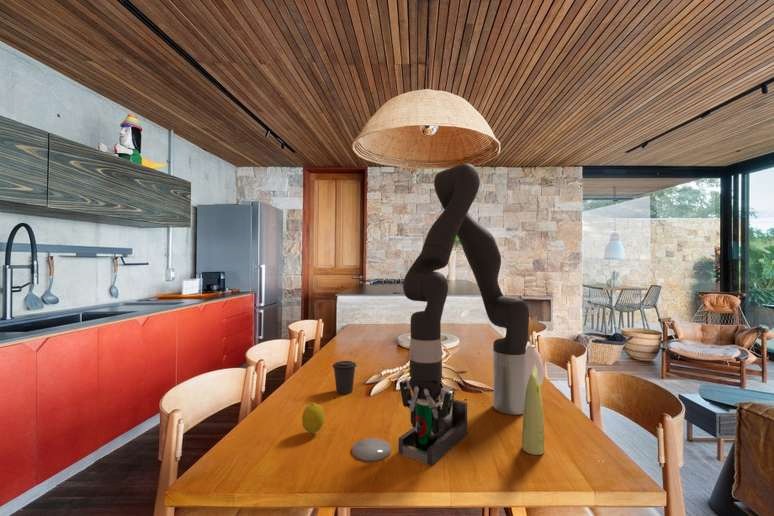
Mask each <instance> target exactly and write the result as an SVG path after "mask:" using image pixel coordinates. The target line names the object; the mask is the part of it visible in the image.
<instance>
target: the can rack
mask: <svg viewBox="0 0 774 516" xmlns="http://www.w3.org/2000/svg"><path fill="white" fill-rule="evenodd" d="M467 435H468V402H467V401H463V400H459V399H455V398H453V428H451V429H450V430H449V431H448V432H447V433H445V434H444V435H443V436H442V437H441V438H439V439H438V440H437V441H436V442H434V443H433V444H432V445H431V446H430V447H428V448H427V452H425V451H422V450H420V449H417V448H416V446H415V427H412V428H411V429H409V430H407V431H405V432H404V433H403V434H401V435H400V436H399V437H398V450H397V451H398V454H401V455H403V456H405V457H408V458H410V459H413V460H416V461H418V462H420V463H423V464H425V465H427V466H430V467H434V466H435V464H436V463H437V462H439V461H440V460H441V459H442V458H443V457H444V456H445V455H446V454H447V453H448V452H449V451H451V449H453V448H454V447H455V446H456V445H457V444H458V443H459V442H460V441H462V440H463V439H464V437H466V436H467Z"/></svg>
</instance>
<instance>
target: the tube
mask: <svg viewBox="0 0 774 516" xmlns="http://www.w3.org/2000/svg"><path fill="white" fill-rule="evenodd" d="M543 406H544V405H543V397H542V389H541V386H540V381H539V376H538V371H537V368H536V363H535V365H534V367H533V370H532V373H531V375H530V377H529V380H528V384H527V389H526V395H525V402H524V412H523V414H522V416H523V417H522V428H521V429H522V432H521V435H522V436H521V449H522V450H523V451H524V452H526V453H527V454H530V455H532V456H533V455H534V456H540V455H543V454H544V453H545V428H544V427H545V426H544V425H545V424H544V423H545V422H544V421H545V420H544V407H543Z"/></svg>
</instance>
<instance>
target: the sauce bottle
mask: <svg viewBox="0 0 774 516" xmlns="http://www.w3.org/2000/svg"><path fill="white" fill-rule="evenodd" d="M535 363H536V368H537V371H538V376H539V381H540V387H541V386H542V385H543V382H544V379H545V378H544V377H545V369H544V368H545V367H544V363H543V360H542V357H541V354H540V353H539V350H537V348H536V345H535V344H533V339H532V337H530V344H527V346H526V389H527V384H528V380H529V377H530V375H531V373H532V370H533V367H534V365H535Z"/></svg>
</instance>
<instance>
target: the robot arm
mask: <svg viewBox="0 0 774 516" xmlns="http://www.w3.org/2000/svg"><path fill="white" fill-rule="evenodd" d="M434 176H435V177H434V180H433V186H434V187H433V188H434V191H435V194H436V196H437V199H438V201H439V202H440V204H441V205H442V208H443V211H442V213H441V214H440V215H439V216H438V217H437V219H436V220H435V221H434V222H433V223H432V225H431V227H430V228H429V230H428V231H427V234H426V237H425V240H424V241H423V245H422V248H421V252H420V254H419V255H418V256H417V257H416V258H415V260H414V262H413V263H412V265H411V266H410V267H409V269H408V270H407V272H406V274H405V277H404V278H403V284H402V290H403V294H404V296H405V297H406V298H407V299H408V300H410V301H412V302H425V303H426V306H425V308H424V310H420V311H415V312H413V313H412V314H411V316H410V339H409V340H410V342H409V376H410V378H409V379H408V378H405V379H402V380H401V381H399V383H398V384H399V390H400V396H401V401H402V405H403V407H404V408H408V409H409V411H410V423H411V426H412V428H413V427H415V402H416V400H417V397H418V398H419V397H420V398H424V399H427V401H428V404H429V407H430V409H432V413H433V416H434V418H433V434H436V435H437V434H438V433H439V432H440V431H441V430H442V418H445V417H446V416H448V415H449V414H450V412H451V407H452V403H453V399H455V391H454V389H453V390H450V391H449V390H447V389H445V388H443V383H442V379H443V347H442V345H443V344H442V340H441V339H442V338H441V333H442V332H441V322H442V321H441V320H442V316H443V312H444V308H445V304H446V301H447V297H448V293H449V283H448V280H447V278H446V276H445V275H444V274H443V273H442V272H439V271H437V270H442V269H443V268H446V267H447V265H448V264H449V262H450V261H449V260H450V258H451V254H452V252H453V248H454V246H455V245H454V244H455V242H456V241H455V240H456V239H458V240H459V242H460V245H461V247H462V251H463V253H464V256H465V257H466V260H467V262H468V264H469V266H470V269H471V271H472V274H473V276H474V278H475V282H476V284H477V287H478V290H479V292H480V295H481V298H482V301H483V306H484V309H485V312H486V315H487V318H488V320H489V321H490V322H491V324H492V325H494V327H495V326H496V327H499V328H504V329H506V331H505V336H504V337H502V338H501V337H500V338H497V339H495V340H494V341H493V349H492V350H493V351H492V352H493V353H492V354H493V355H492V357H493V358H492V359H493V363H492V364H493V374H492V375H493V378H492V379H493V392H492V393H493V399H492V400H493V401H492V402H493V405H492V406H493V409H495V411H497V412H499V413H502V414H506V415H511V416H513V415H514V416H516V415H517V416H518V415H523V412H524V402H525V395H526V348H527V345H528V343H529V327H530V310H529V306H528V304H527V303H526V301H525V300H523V299H521V298H515V297H506V296H504V294H503V293H502V290H501V288H500V284H499V280H498V279H499V273H500V270H501V265H502V256H501V252H500V250H499V247H498V245H497V242H496V239H495V238H494V237H495V236H493V234H492V233H491V232H490V230H488V229H487V228H486V227H485V226H484V225H482V224H481V223H480V222H479V221H477V219H475V218H474V217H473V216H472V215H471V214H470V213H469V210H470V208H471V206H472V204H473V202H474V201H475V198H476V196H477V194H478V191H479V189H480V183H481V182H480V181H481V180H480V175H479V172H478V170H477V168H476V167H475V166H474V165H473V164H471V163H460V164H458V165H454V166H453V167H449V168H447V169H445V170H442V171H439V172H438V173H437V174H436V175H434ZM411 390H412V391H411ZM412 393H413V394H412ZM441 393H442V399H444V401H443V405H442V407H441V400H440V397H439V395H440V394H441ZM435 400H436V403H434V401H435Z"/></svg>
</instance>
